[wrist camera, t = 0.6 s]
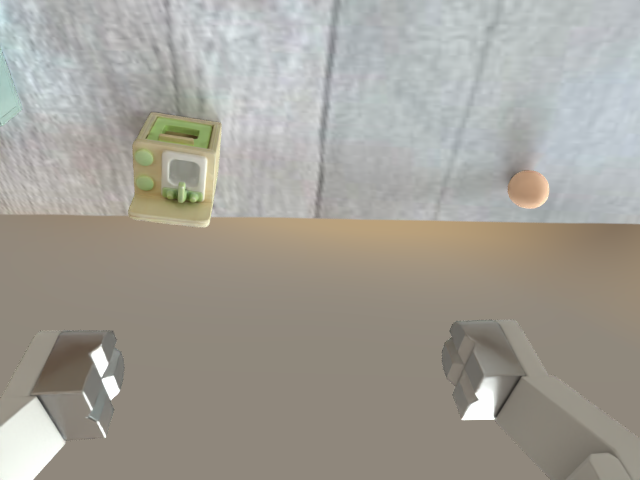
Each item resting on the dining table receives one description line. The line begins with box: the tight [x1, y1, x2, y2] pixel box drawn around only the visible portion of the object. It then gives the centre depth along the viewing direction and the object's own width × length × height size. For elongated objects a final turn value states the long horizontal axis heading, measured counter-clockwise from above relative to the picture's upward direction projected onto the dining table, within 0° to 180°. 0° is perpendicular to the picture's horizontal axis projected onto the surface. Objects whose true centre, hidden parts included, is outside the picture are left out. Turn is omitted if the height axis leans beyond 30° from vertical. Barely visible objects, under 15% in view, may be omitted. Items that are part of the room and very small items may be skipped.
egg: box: [508, 170, 549, 208], centre depth 60 cm, size 5×5×6 cm
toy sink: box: [128, 112, 222, 227], centre depth 49 cm, size 8×7×13 cm
